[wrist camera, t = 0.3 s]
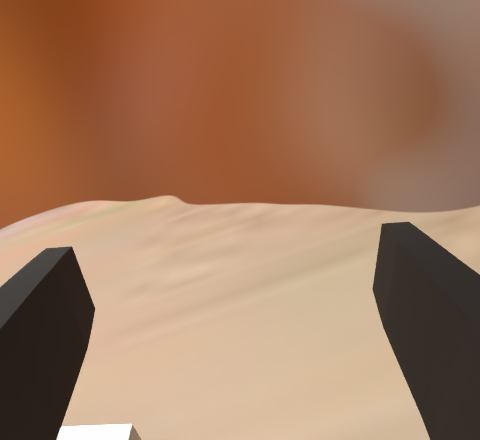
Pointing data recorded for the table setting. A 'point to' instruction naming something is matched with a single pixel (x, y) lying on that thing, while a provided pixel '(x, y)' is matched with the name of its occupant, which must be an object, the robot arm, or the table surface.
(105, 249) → the table surface
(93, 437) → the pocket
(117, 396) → the table surface
